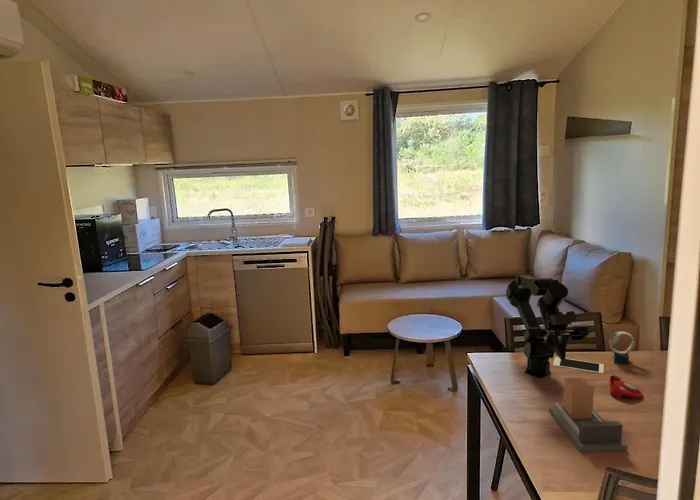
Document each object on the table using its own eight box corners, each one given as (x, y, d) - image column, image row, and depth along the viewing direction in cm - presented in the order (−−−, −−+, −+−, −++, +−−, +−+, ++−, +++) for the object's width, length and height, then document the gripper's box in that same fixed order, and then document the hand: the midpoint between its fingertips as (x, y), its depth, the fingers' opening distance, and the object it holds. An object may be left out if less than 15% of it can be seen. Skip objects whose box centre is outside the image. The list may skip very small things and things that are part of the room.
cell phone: (555, 358, 180) (555, 356, 180) (603, 365, 172) (603, 364, 172) (552, 366, 173) (552, 365, 173) (603, 374, 166) (603, 373, 165)
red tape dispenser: (650, 392, 150) (633, 394, 145) (643, 404, 152) (627, 406, 146) (614, 370, 160) (598, 371, 155) (609, 381, 161) (592, 382, 156)
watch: (607, 356, 179) (609, 328, 176) (632, 359, 175) (634, 330, 173) (608, 362, 174) (610, 333, 171) (633, 365, 170) (636, 336, 168)
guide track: (549, 411, 144) (549, 391, 142) (589, 409, 144) (590, 389, 142) (580, 452, 124) (581, 429, 123) (627, 450, 124) (629, 427, 123)
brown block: (563, 410, 141) (564, 378, 139) (583, 409, 141) (585, 377, 139) (570, 419, 136) (572, 386, 134) (592, 418, 136) (594, 385, 134)
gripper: (528, 302, 148) (540, 351, 140) (589, 300, 148) (605, 348, 140) (518, 318, 158) (529, 364, 149) (576, 316, 157) (590, 362, 149)
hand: (563, 359), depth 146 cm, fingers closed
